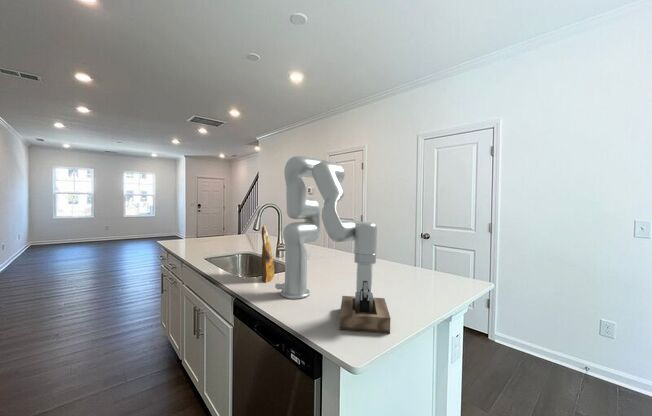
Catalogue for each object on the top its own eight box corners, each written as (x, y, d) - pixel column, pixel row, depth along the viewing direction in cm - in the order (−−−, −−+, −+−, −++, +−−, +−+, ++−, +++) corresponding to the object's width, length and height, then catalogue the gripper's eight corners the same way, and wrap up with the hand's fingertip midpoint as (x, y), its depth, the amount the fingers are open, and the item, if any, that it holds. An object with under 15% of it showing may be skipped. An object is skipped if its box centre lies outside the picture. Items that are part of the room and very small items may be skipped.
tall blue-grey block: (354, 319, 97) (355, 296, 96) (354, 313, 101) (355, 291, 101) (372, 320, 96) (373, 297, 96) (371, 314, 100) (372, 292, 100)
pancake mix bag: (256, 283, 137) (257, 226, 137) (263, 273, 157) (264, 223, 156) (270, 283, 138) (271, 226, 137) (275, 273, 157) (276, 223, 156)
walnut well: (339, 330, 90) (339, 314, 90) (341, 308, 108) (342, 295, 108) (390, 333, 89) (390, 318, 89) (384, 311, 107) (384, 298, 106)
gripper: (354, 252, 107) (353, 297, 107) (354, 263, 90) (353, 315, 90) (374, 253, 106) (373, 298, 107) (378, 264, 89) (376, 317, 89)
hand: (363, 306), depth 98 cm, fingers open, 9 cm apart
